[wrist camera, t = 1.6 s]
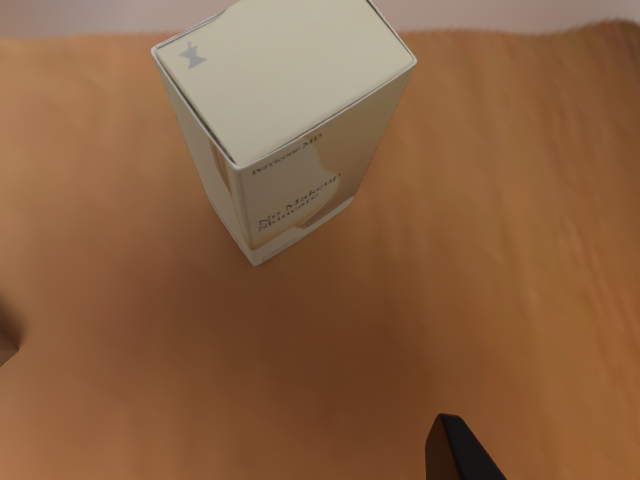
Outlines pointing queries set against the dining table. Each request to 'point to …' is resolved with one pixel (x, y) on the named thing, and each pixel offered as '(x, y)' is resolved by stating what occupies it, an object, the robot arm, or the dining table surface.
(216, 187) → the skincare box
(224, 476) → the dining table surface
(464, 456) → the robot arm
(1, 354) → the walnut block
